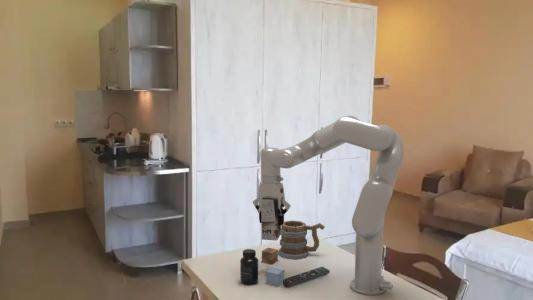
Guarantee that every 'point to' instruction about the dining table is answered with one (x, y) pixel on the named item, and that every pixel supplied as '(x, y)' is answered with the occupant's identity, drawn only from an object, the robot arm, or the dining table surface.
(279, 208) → the robot arm
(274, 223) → the coffee box
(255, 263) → the supplement bottle
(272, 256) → the walnut block
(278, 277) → the dusty-blue block
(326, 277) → the dining table surface
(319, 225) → the tankard
